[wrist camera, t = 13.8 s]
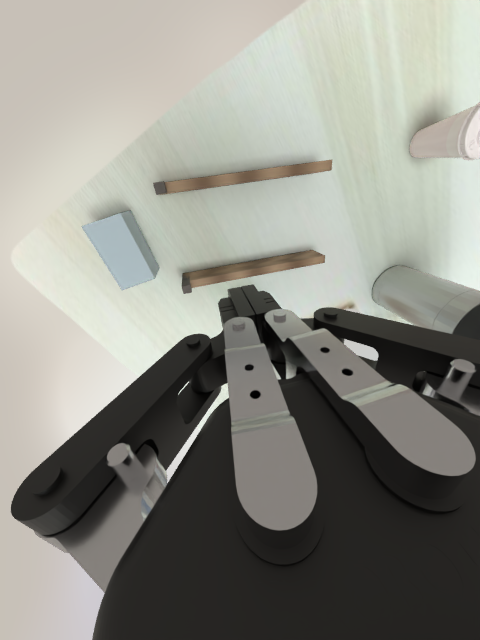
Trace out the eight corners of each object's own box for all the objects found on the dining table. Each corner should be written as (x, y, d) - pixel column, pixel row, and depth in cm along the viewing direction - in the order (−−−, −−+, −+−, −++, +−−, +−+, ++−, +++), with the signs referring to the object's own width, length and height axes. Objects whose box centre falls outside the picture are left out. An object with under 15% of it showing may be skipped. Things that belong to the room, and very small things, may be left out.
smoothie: (399, 172, 37) (498, 160, 25) (404, 123, 34) (522, 84, 22) (433, 161, 38) (547, 146, 26) (442, 112, 34) (578, 68, 22)
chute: (316, 163, 34) (340, 157, 29) (311, 256, 42) (330, 265, 36) (159, 184, 32) (153, 182, 26) (184, 280, 39) (183, 293, 33)
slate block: (130, 210, 33) (120, 213, 27) (159, 267, 37) (154, 278, 32) (98, 221, 32) (81, 226, 27) (131, 277, 37) (122, 290, 32)
